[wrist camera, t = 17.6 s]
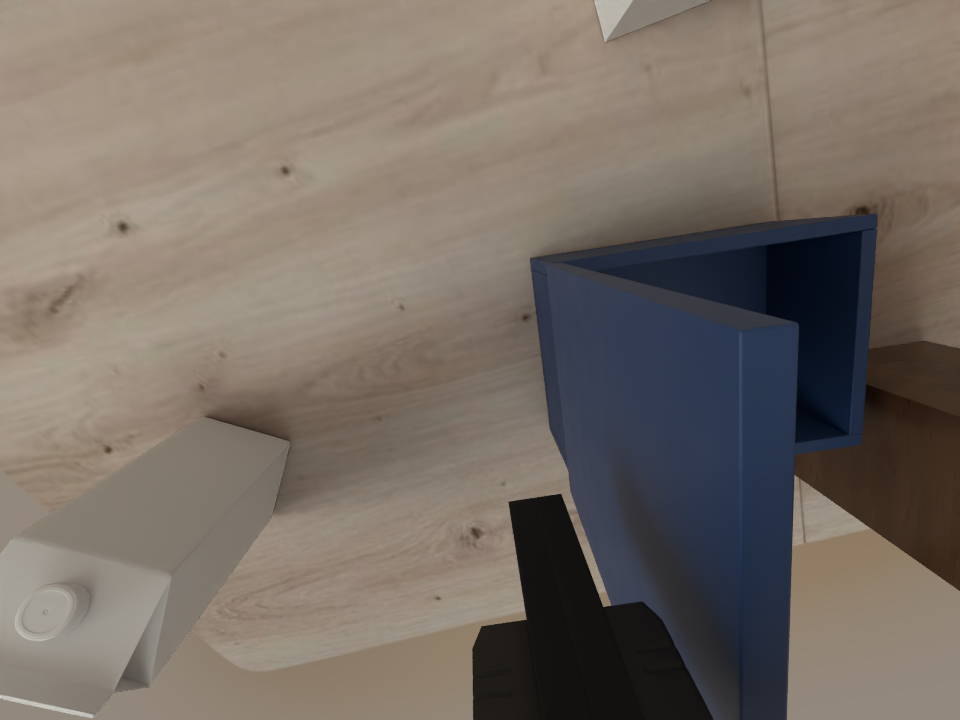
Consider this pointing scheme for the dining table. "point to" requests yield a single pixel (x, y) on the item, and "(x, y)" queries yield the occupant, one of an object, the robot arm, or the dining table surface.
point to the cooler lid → (685, 471)
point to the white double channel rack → (637, 14)
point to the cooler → (759, 305)
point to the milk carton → (131, 566)
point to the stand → (903, 456)
